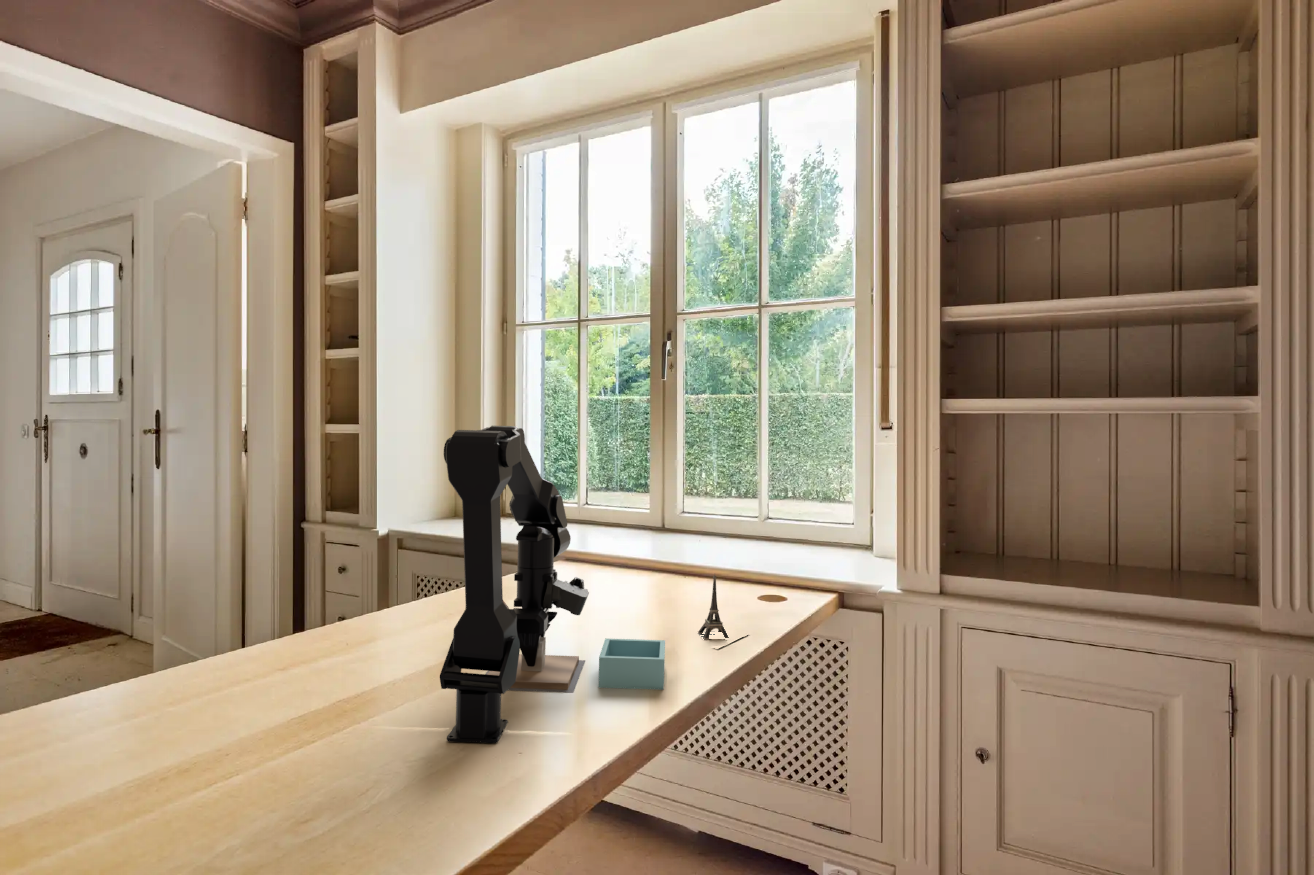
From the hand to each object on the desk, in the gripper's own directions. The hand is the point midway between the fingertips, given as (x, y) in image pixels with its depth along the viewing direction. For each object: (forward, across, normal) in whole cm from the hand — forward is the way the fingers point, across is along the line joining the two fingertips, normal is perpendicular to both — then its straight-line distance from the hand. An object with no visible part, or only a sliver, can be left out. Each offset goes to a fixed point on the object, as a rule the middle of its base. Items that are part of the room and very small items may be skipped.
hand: (533, 662), depth 118 cm
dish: (+2, 0, -16) cm, 16 cm away
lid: (+2, 0, 0) cm, 2 cm away
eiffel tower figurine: (+3, +26, -31) cm, 40 cm away
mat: (+2, 0, 0) cm, 2 cm away
